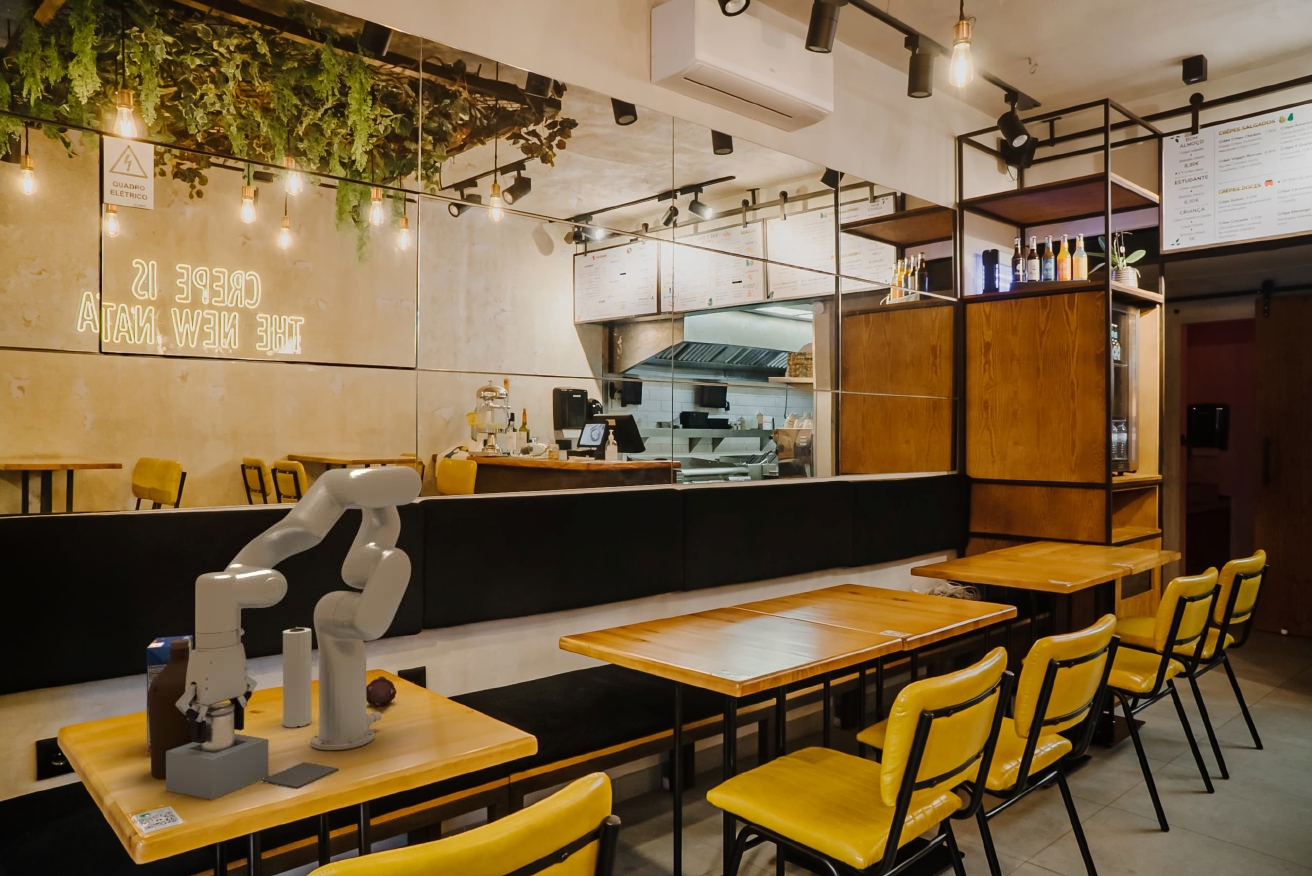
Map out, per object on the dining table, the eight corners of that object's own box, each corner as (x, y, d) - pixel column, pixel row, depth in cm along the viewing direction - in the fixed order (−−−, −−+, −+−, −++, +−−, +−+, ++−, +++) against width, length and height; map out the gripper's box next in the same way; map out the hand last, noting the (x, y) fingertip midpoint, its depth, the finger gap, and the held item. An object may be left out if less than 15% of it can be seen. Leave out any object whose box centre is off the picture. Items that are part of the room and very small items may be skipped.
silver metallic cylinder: (220, 776, 161) (220, 701, 161) (241, 780, 158) (241, 704, 159) (194, 786, 156) (194, 709, 156) (215, 790, 153) (215, 712, 154)
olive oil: (196, 779, 159) (196, 645, 160) (136, 782, 158) (136, 647, 159) (219, 759, 170) (219, 634, 170) (163, 762, 169) (164, 635, 169)
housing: (223, 768, 165) (223, 731, 165) (268, 776, 160) (268, 739, 160) (165, 790, 154) (165, 751, 154) (212, 799, 149) (212, 759, 149)
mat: (303, 764, 166) (303, 762, 166) (338, 770, 163) (338, 768, 163) (261, 781, 157) (261, 779, 157) (297, 788, 154) (297, 786, 154)
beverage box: (146, 757, 172) (146, 647, 173) (156, 740, 182) (156, 637, 183) (184, 752, 174) (184, 644, 175) (192, 736, 185) (192, 635, 185)
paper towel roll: (301, 728, 189) (301, 632, 190) (277, 727, 190) (277, 631, 191) (320, 719, 196) (319, 626, 197) (296, 718, 197) (295, 625, 198)
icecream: (400, 684, 202) (397, 675, 216) (369, 679, 199) (368, 670, 213) (393, 714, 200) (390, 703, 214) (361, 709, 198) (360, 699, 212)
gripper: (243, 629, 167) (243, 720, 167) (160, 647, 151) (160, 747, 151) (271, 632, 164) (271, 724, 164) (189, 650, 148) (189, 753, 148)
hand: (218, 734), depth 157 cm, fingers open, 7 cm apart
